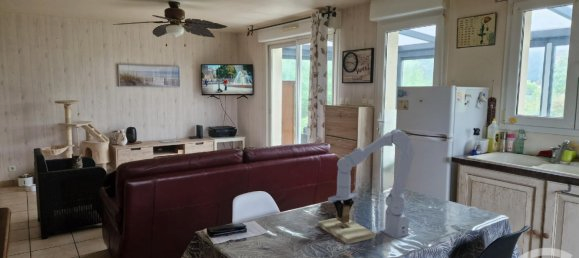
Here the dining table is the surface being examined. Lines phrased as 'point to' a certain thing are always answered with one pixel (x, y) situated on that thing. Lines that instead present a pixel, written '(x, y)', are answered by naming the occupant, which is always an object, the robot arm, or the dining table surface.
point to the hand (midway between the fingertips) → (342, 216)
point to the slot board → (346, 230)
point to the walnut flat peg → (344, 214)
